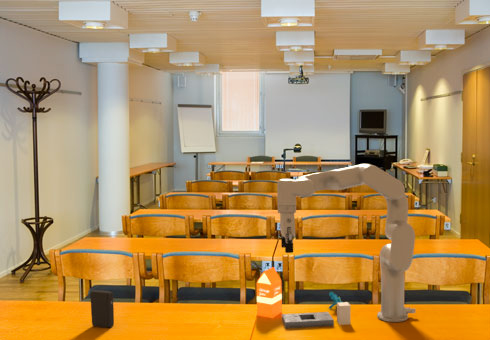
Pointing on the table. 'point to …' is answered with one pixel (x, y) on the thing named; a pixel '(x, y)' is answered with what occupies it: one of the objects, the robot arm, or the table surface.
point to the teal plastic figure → (334, 299)
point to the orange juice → (269, 294)
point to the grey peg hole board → (307, 320)
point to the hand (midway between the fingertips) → (287, 249)
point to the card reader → (102, 308)
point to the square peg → (343, 313)
